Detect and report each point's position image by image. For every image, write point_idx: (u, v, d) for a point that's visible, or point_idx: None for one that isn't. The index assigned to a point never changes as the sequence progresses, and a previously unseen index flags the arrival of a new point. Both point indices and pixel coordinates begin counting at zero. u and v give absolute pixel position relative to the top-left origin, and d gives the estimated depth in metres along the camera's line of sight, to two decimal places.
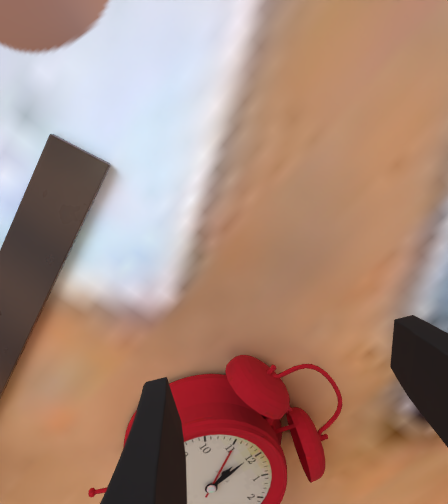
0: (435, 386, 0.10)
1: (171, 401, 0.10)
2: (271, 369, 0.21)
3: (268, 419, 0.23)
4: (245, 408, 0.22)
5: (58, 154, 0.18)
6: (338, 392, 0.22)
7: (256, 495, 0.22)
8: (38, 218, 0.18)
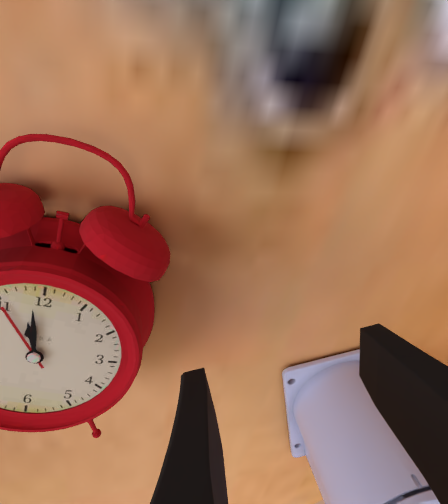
0: (397, 396, 0.10)
1: (209, 391, 0.10)
2: None
3: (51, 244, 0.16)
4: (1, 250, 0.15)
5: None
6: (93, 149, 0.14)
7: (103, 333, 0.16)
8: None
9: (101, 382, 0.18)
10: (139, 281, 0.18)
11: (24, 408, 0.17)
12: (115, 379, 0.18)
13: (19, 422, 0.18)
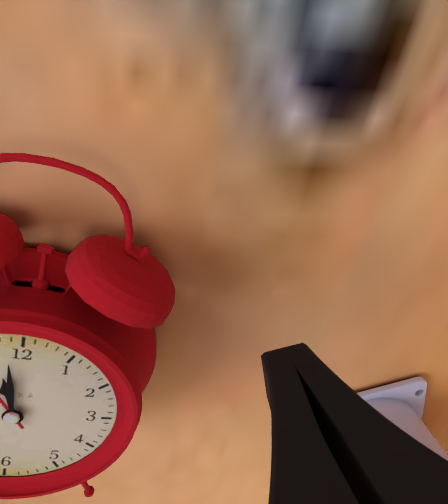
0: None
1: None
2: None
3: (32, 282, 0.13)
4: None
5: None
6: (81, 171, 0.11)
7: (94, 387, 0.14)
8: None
9: (93, 440, 0.15)
10: None
11: (2, 471, 0.15)
12: (110, 437, 0.15)
13: None
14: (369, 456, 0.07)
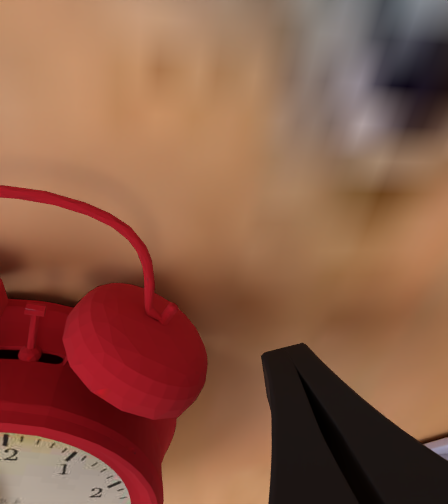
0: None
1: None
2: None
3: (19, 352, 0.10)
4: None
5: None
6: (84, 209, 0.08)
7: (102, 486, 0.10)
8: None
9: None
10: None
11: None
12: None
13: None
14: (369, 456, 0.07)
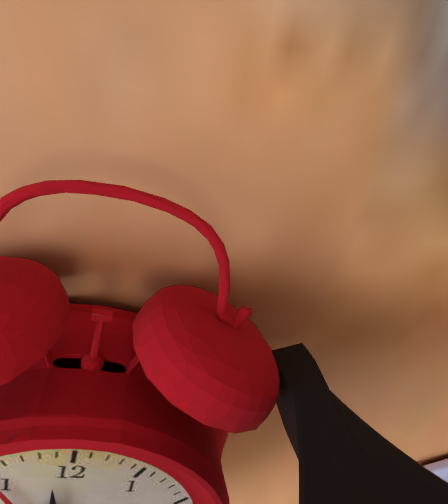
0: (294, 424, 0.10)
1: None
2: None
3: (82, 361, 0.09)
4: None
5: None
6: (165, 206, 0.07)
7: (168, 503, 0.10)
8: None
9: None
10: None
11: None
12: None
13: None
14: (346, 463, 0.07)
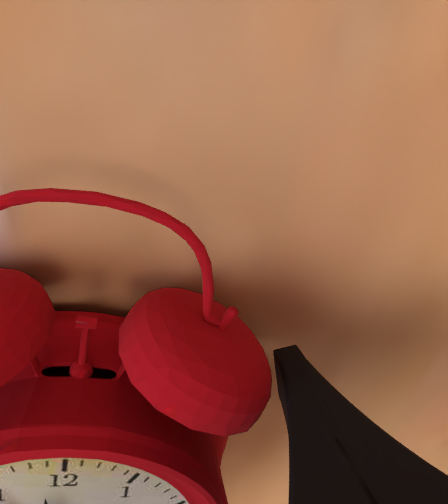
0: None
1: None
2: None
3: (71, 369, 0.09)
4: None
5: None
6: (139, 209, 0.07)
7: None
8: None
9: None
10: None
11: None
12: None
13: None
14: (353, 460, 0.07)
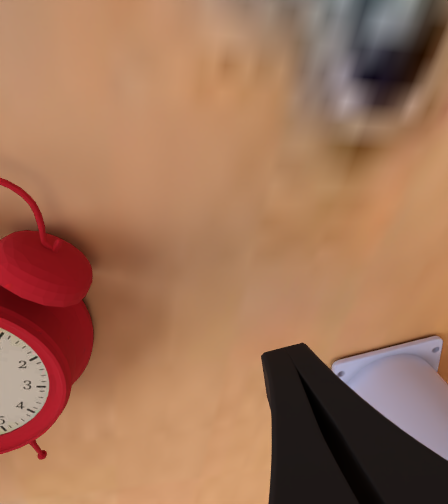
0: None
1: None
2: None
3: None
4: None
5: None
6: None
7: (25, 360, 0.16)
8: None
9: (33, 406, 0.17)
10: None
11: None
12: (47, 403, 0.17)
13: None
14: (369, 456, 0.07)
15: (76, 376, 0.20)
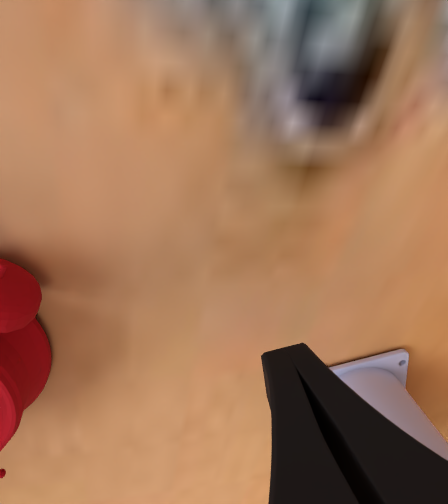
0: None
1: None
2: None
3: None
4: None
5: None
6: None
7: None
8: None
9: None
10: None
11: None
12: None
13: None
14: (369, 456, 0.07)
15: (33, 395, 0.20)
